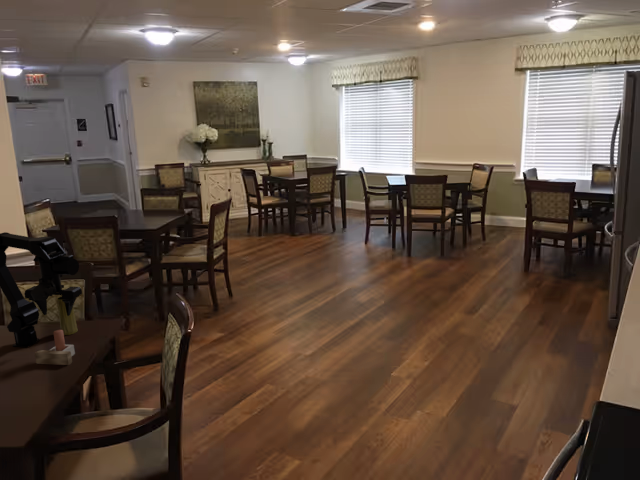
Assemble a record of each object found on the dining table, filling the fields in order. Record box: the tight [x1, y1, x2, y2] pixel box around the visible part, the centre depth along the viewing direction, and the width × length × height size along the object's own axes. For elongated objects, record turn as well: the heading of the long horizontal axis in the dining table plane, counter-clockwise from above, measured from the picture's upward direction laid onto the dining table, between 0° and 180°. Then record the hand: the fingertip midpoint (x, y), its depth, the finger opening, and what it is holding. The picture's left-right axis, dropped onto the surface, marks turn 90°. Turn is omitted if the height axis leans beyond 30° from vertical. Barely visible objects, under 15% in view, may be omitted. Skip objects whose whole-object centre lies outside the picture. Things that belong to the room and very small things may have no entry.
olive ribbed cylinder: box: [55, 295, 79, 336], centre depth 198 cm, size 6×6×14 cm
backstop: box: [34, 349, 73, 366], centre depth 174 cm, size 12×2×4 cm, turn 81°
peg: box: [53, 329, 66, 351], centre depth 177 cm, size 3×3×9 cm
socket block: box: [48, 343, 76, 358], centre depth 178 cm, size 6×6×4 cm
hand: (57, 315), depth 183 cm, fingers open, 9 cm apart
